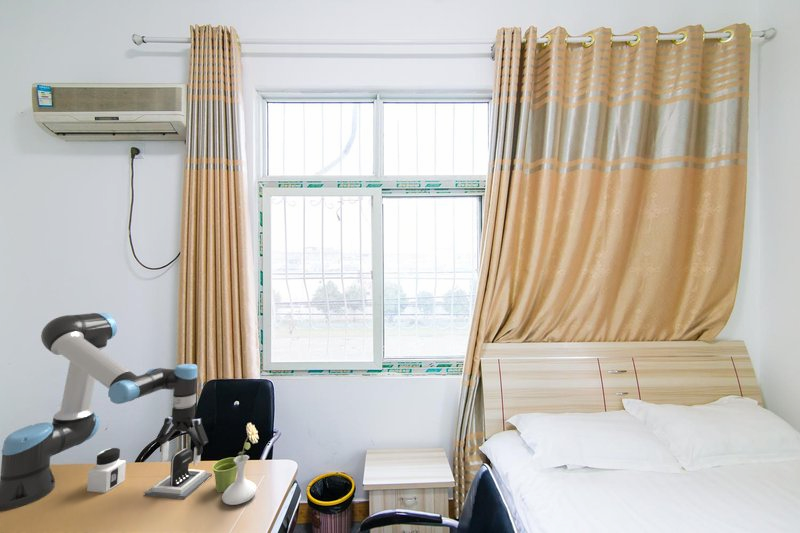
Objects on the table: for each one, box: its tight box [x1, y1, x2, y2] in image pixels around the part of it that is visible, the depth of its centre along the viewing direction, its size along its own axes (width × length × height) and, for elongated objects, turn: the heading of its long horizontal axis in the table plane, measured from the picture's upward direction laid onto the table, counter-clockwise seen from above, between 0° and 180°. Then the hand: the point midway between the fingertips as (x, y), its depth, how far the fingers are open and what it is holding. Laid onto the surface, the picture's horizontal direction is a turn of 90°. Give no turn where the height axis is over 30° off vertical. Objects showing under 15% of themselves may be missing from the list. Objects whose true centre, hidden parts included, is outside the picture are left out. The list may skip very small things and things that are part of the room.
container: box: [86, 447, 127, 494], centre depth 121 cm, size 8×8×13 cm
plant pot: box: [211, 457, 237, 493], centre depth 121 cm, size 9×9×9 cm
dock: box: [144, 468, 213, 500], centre depth 122 cm, size 16×14×2 cm
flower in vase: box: [221, 422, 260, 506], centre depth 117 cm, size 13×11×25 cm
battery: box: [170, 448, 193, 487], centre depth 123 cm, size 7×4×11 cm, turn 169°
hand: (180, 461), depth 123 cm, fingers open, 13 cm apart
